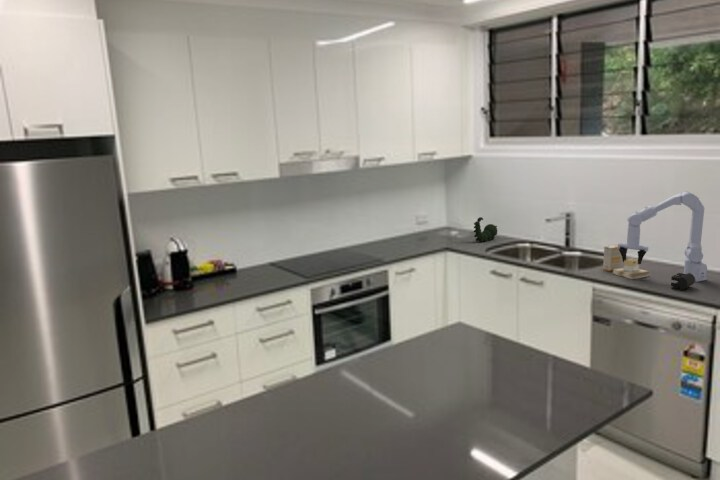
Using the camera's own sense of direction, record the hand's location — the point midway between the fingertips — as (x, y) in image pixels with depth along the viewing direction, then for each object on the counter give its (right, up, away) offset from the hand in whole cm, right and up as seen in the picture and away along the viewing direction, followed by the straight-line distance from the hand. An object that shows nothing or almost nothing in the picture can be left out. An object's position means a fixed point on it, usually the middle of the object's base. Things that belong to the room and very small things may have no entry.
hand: (631, 262), depth 277 cm
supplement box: (-4, -4, +13) cm, 15 cm away
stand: (0, -6, +1) cm, 7 cm away
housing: (0, -4, +1) cm, 4 cm away
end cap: (+12, -11, -24) cm, 29 cm away
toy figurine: (-52, +11, +99) cm, 113 cm away
